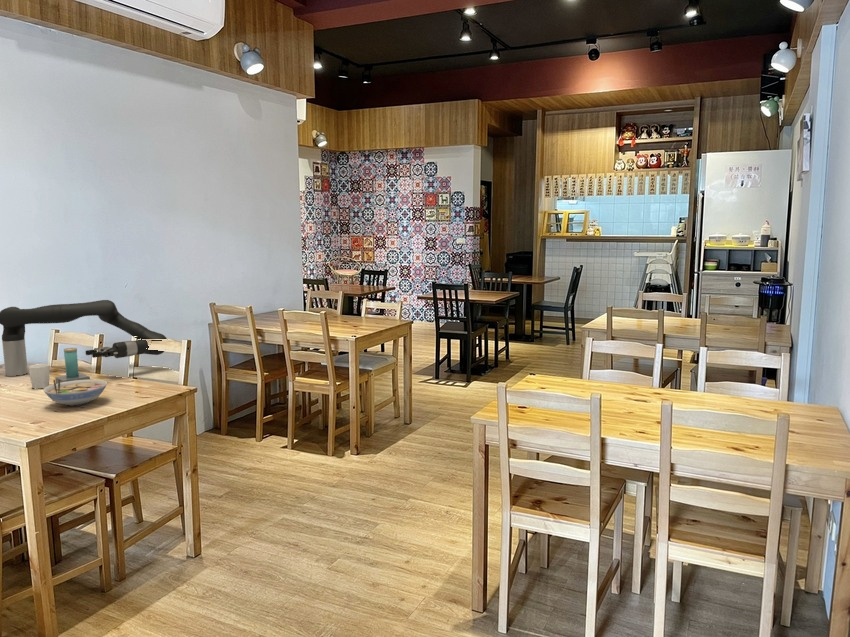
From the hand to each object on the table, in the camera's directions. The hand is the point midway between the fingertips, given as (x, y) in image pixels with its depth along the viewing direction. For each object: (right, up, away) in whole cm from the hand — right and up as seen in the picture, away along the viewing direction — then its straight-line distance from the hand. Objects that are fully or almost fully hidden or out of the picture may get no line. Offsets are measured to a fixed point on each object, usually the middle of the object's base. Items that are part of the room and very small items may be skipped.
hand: (89, 354), depth 288 cm
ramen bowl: (+15, -18, -36) cm, 43 cm away
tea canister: (-5, -10, -4) cm, 12 cm away
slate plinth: (-5, -14, -4) cm, 15 cm away
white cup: (-17, -15, -9) cm, 24 cm away
